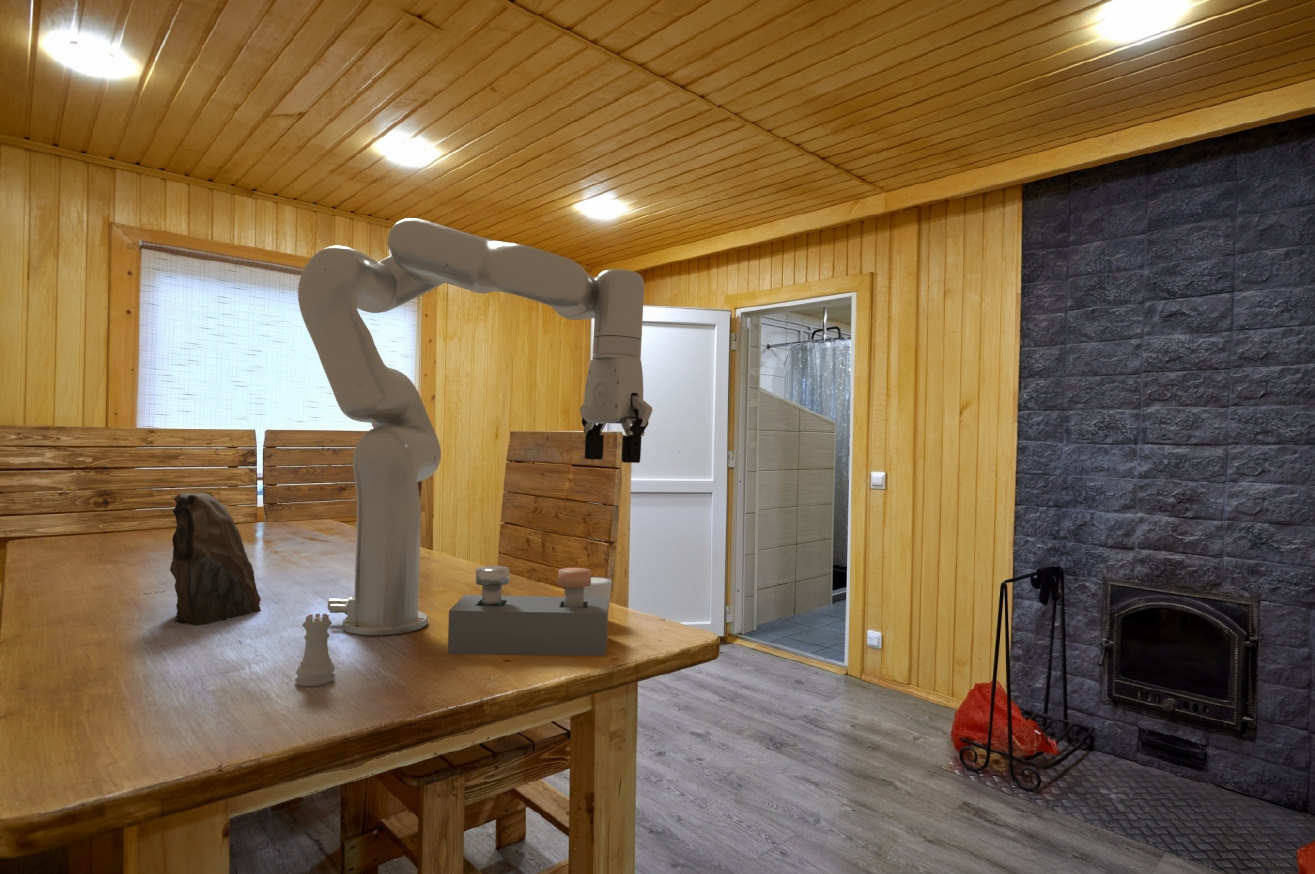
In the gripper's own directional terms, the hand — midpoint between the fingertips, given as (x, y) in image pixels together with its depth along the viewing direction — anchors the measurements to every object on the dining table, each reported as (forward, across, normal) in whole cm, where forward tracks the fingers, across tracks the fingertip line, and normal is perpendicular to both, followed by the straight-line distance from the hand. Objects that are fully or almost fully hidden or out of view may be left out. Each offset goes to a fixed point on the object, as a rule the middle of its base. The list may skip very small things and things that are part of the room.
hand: (611, 460), depth 111 cm
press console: (+27, -2, -12) cm, 30 cm away
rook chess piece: (+28, -3, -41) cm, 50 cm away
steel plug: (+24, -5, -17) cm, 30 cm away
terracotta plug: (+24, +2, -7) cm, 25 cm away
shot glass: (+28, -8, +3) cm, 29 cm away
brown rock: (+29, -45, -45) cm, 70 cm away
